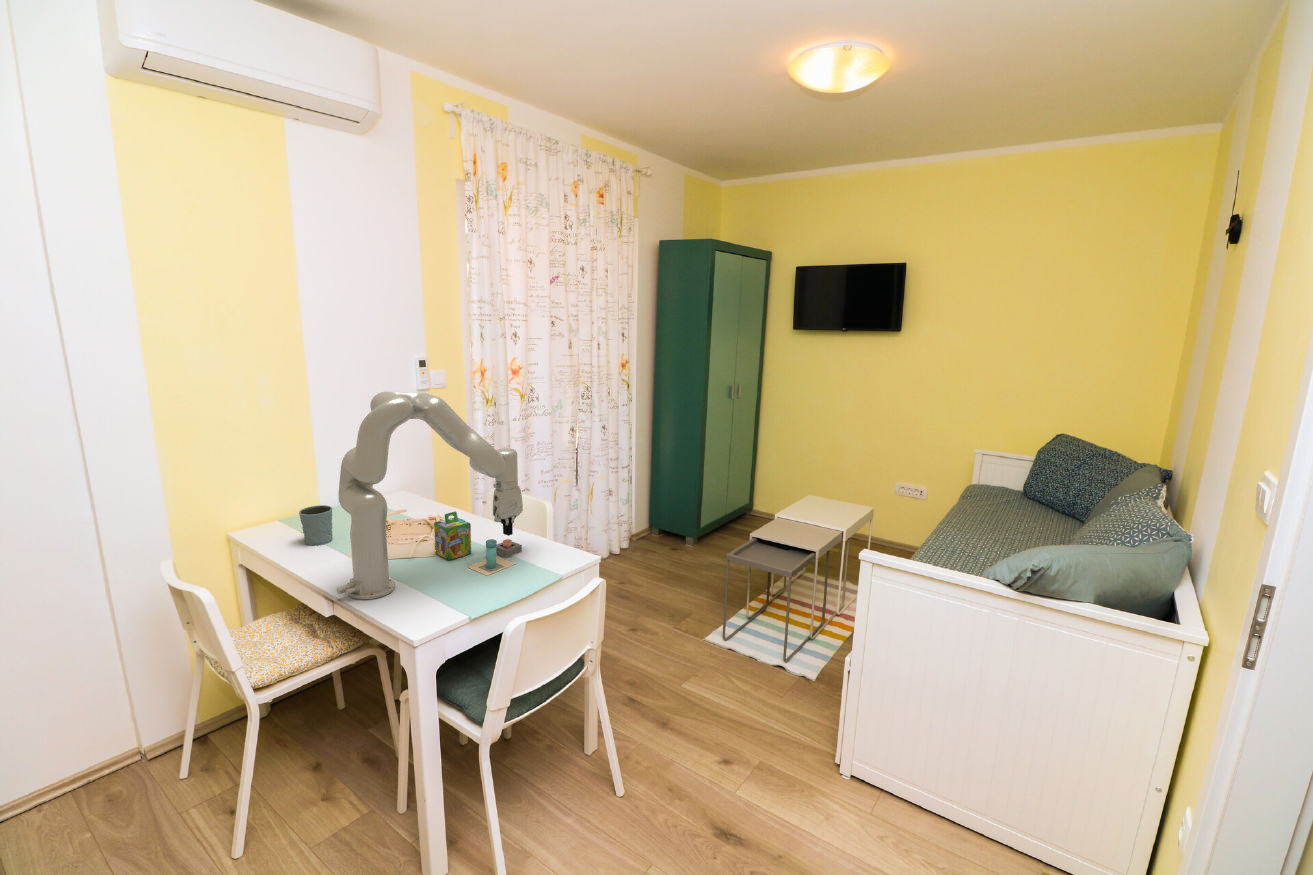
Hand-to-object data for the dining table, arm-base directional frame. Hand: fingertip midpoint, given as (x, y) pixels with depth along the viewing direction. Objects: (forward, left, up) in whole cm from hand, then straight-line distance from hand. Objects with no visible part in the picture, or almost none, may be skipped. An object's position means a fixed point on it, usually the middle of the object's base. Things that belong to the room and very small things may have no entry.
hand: (507, 534), depth 206 cm
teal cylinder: (-12, -6, -6) cm, 15 cm away
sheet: (-11, -5, -7) cm, 14 cm away
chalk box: (-13, +13, -7) cm, 20 cm away
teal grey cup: (-37, +58, -7) cm, 69 cm away
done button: (0, 0, -5) cm, 5 cm away
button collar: (0, 0, -7) cm, 7 cm away
